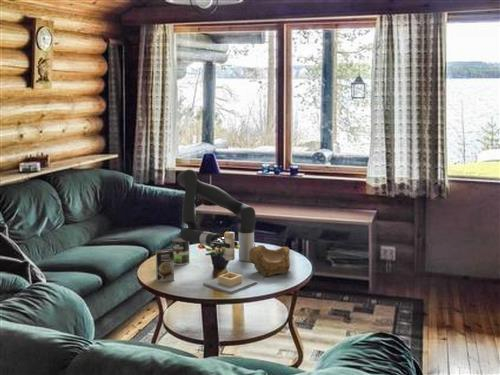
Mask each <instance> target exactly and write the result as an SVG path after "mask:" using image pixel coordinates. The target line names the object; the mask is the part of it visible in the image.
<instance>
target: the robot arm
mask: <svg viewBox="0 0 500 375" xmlns="http://www.w3.org/2000/svg"><path fill="white" fill-rule="evenodd" d="M176 181H177V183H178V184H179V186H181V187H183V188H184V199H183V204H182V210H181V212H182V214H181V217H182V219H181V221H182V223H183V224H185V225H187V227H183V228H182V229H181V230H180V231H179V237H181V239H182V240H184V241H189V243H190V242H192V243H196V244H200V245H203V246H206V247H210V248H213V249H216V248H218V249H220V248H221V249H222V248H224V249H225V248H230V244H228V243H225V237H222V236H220V234H219V233H215V232H210V231H205V230H199V229H198V226H197V225H198V224H197V222H196V209H195V208H196V207H195V206H196V203H195V202H196V194H197V195H199V196H200V197H202V198H204V199H205V200H207V201H208V202H211V203H213V204H214V205H216V206H218V207H220V208H223V209H226V210H227V211H229V212H231V213H233V214H234V215H235V216H237V218H239V219H240V226H239V227H238V241H236V240H234V247H237V246H239V245H240V248H239V247H238V261H240V262H246V263H247V262H248V263H249V262H250V260H249V251H250V250H251V248H253V247H256V243H255V228H256V210H255V209H254V207H252V206H250V205H248V204H245V203H243V202H241V201H238V200H236V199H235V198H234V197H233V196H231V194H229V193H228V192H226V191H225V190H223V189H221V188H220V187H218V186H215V185H213V184H210V183H206V182H203V181H200V180H199V179H198V175H197V172H196V171H195V170H194V169H191V168H190V169H186V170H183V171H181V172H179V173H178V174H177V176H176Z"/></svg>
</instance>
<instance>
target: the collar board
mask: <svg viewBox="0 0 500 375" xmlns="http://www.w3.org/2000/svg"><path fill="white" fill-rule="evenodd" d="M257 284H258V280H254V279H250V278H248V277H244V276H243V275H242V274H239V273H235V272H232V271H228V272H226V273H223V274H221V275H218V276H217V277H216V278H213V279H211V280H208V281H207V280H206V281H205V282H203V284H202V285H203V286H204V287H208V288H211V289H214V290H218V291H221V292H224V293H227V294H231V295H233V294H235V293H238V292H240V291H242V290H244V289H247V288H249V287H252V286H254V285H257Z"/></svg>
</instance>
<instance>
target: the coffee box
mask: <svg viewBox="0 0 500 375" xmlns="http://www.w3.org/2000/svg"><path fill="white" fill-rule="evenodd" d="M155 271H156V272H155V275H156V276H155V277H156V281H157V282H158V283H160V282H161V283H163V282H164V283H165V282H172V281H175V264H174V252H173V250H172V248H169V249H155Z"/></svg>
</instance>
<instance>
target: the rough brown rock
mask: <svg viewBox="0 0 500 375" xmlns="http://www.w3.org/2000/svg"><path fill="white" fill-rule="evenodd" d="M249 260H250V261H249V262H250V264H252V265H254V269H255V270H256V271H257V272H258V273H261V275H262V276H263V277H264V278H265V277H270V276H273V275H275V274H286V273H287V272H288V271H289V270H290V267H291V265H290V263H291V262H290V247H288V246H282V247H280V248H278V249H276V250H275V249H269V248H266V246H265V245H264V244H258V245H257V246H255V247H253V248H251V250H250V251H249Z"/></svg>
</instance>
